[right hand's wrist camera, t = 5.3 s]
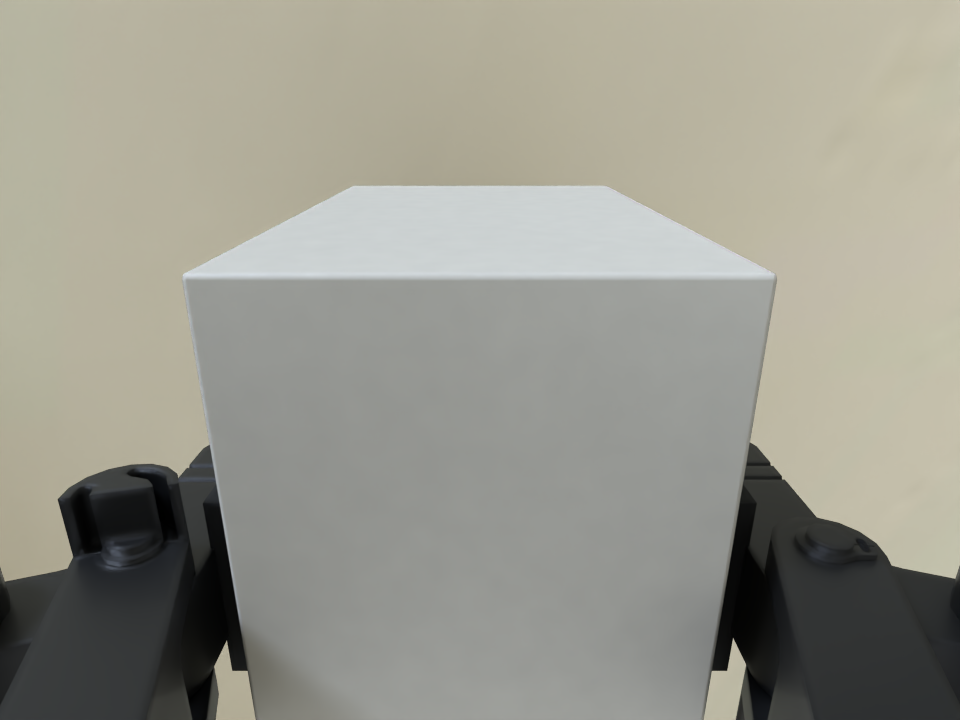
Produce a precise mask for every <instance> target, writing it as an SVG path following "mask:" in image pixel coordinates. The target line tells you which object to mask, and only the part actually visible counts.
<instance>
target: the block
mask: <svg viewBox="0 0 960 720" xmlns="http://www.w3.org/2000/svg"><path fill="white" fill-rule="evenodd" d="M182 281H183V287H184V293H185V299H186V305H187V311H188V317H189V323H190V329H191V335H192V341H193V347H194V353H195V359H196V365H197V371H198V377H199V383H200V389H201V395H202V401H203V407H204V413H205V419H206V425H207V431H208V437H209V443H210V448H211V454H212V460H213V466H214V472H215V478H216V484H217V490H218V496H219V502H220V508H221V514H222V520H223V526H224V532H225V538H226V544H227V550H228V556H229V562H230V568H231V574H232V580H233V586H234V592H235V598H236V604H237V610H238V616H239V622H240V628H241V634H242V640H243V646H244V652H245V658H246V664H247V670H248V675H249V681H250V687H251V693H252V699H253V705H254V711H255V717H256V720H704V714H705V708H706V702H707V696H708V690H709V684H710V678H711V672H712V666H713V660H714V654H715V648H716V642H717V636H718V630H719V624H720V618H721V612H722V606H723V600H724V594H725V588H726V582H727V576H728V570H729V564H730V558H731V552H732V546H733V540H734V534H735V528H736V522H737V516H738V510H739V504H740V498H741V492H742V486H743V480H744V474H745V468H746V462H747V456H748V450H749V444H750V438H751V432H752V426H753V420H754V414H755V408H756V402H757V396H758V390H759V384H760V378H761V372H762V366H763V360H764V354H765V348H766V342H767V336H768V330H769V324H770V318H771V312H772V306H773V300H774V294H775V288H776V282H777V278H776V274H775V273H773V272H771V271H769V270H767V269H765V268H763V267H761V266H759V265H757V264H756V263H754V262H752V261H750V260H748V259H746V258H744V257H742V256H740V255H738V254H736V253H734V252H732V251H731V250H729V249H727V248H725V247H723V246H721V245H719V244H717V243H715V242H713V241H711V240H709V239H708V238H706V237H704V236H702V235H700V234H698V233H696V232H694V231H692V230H690V229H688V228H686V227H684V226H683V225H681V224H679V223H677V222H675V221H673V220H671V219H669V218H667V217H665V216H663V215H661V214H660V213H658V212H656V211H654V210H652V209H650V208H648V207H646V206H644V205H642V204H640V203H638V202H636V201H635V200H633V199H631V198H629V197H627V196H625V195H623V194H621V193H619V192H617V191H615V190H613V189H612V188H610V187H608V186H352V187H350V188H348V189H346V190H344V191H342V192H340V193H338V194H337V195H335V196H333V197H331V198H329V199H327V200H325V201H323V202H321V203H319V204H317V205H315V206H313V207H312V208H310V209H308V210H306V211H304V212H302V213H300V214H298V215H296V216H294V217H292V218H290V219H288V220H286V221H285V222H283V223H281V224H279V225H277V226H275V227H273V228H271V229H269V230H267V231H265V232H263V233H261V234H260V235H258V236H256V237H254V238H252V239H250V240H248V241H246V242H244V243H242V244H240V245H238V246H236V247H235V248H233V249H231V250H229V251H227V252H225V253H223V254H221V255H219V256H217V257H215V258H213V259H211V260H210V261H208V262H206V263H204V264H202V265H200V266H198V267H196V268H194V269H192V270H190V271H188V272H186V273H184V275H183V279H182Z"/></svg>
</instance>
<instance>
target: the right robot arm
mask: <svg viewBox="0 0 960 720" xmlns="http://www.w3.org/2000/svg"><path fill="white" fill-rule="evenodd" d="M58 502H59V506H60V509H61V513H62V517H63V521H64V524H65V528H66V532H67V535H68V539H69V543H70V546H71V550H72V554H73V559H72V561H71V563H70V565H69V567H68V569H65V570H61V571H57V572H52V573H47V574H42V575H37V576H32V577H27V578H22V579H17V580H11V581H6V582H5V581H4V578H3V575H2V572H1V568H0V720H216V712H217V704H218V696H219V693H218V686H217V680H216V674H215V669H214V665H215V663H216V661H217V659H218V657H219V655H220V653H221V651H222V649H223V647H224V645H225V643H226V641H227V643H228V648H229V654H230V660H231V665H232V671H248V670H247V664H246V658H245V652H244V646H243V640H242V634H241V628H240V622H239V616H238V610H237V604H236V598H235V592H234V586H233V580H232V574H231V568H230V562H229V556H228V550H227V544H226V538H225V532H224V526H223V520H222V514H221V508H220V502H219V496H218V490H217V484H216V478H215V472H214V466H213V460H212V454H211V448H210V445H209V446H207V447H205V448H204V449H203V450H202V451H201V452H200V453H199V454H198V456H197V457H196V458H195V459H194V460H193V462H192V463H191V464H190V467H189V468H187V469H186V470H185V471H184V472H183V473H182V475H181V476H180V477H179V478H178V475H177V473H175V472H174V471H173V470H171V469H170V468H168V467H165V466H160V465H155V464H137V465H128V466H123V467H118V468H113V469H108V470H106V471H103V472H100V473H97V474H95V475H92V476H89V477H87V478H85V479H83V480H82V481H80V482H78V483H76V484H75V485H73V486H71V487H70V488H68V489H67V490H66V491H65V493H64V494H63V495H62V496H61V497H60V498H59V499H58ZM733 638H734V640H735V642H736V644H737V647H738V649H739V651H740V653H741V655H742V657H743V659H744V661H745V663H746V669H745V674H744V680H743V685H742V690H741V695H740V700H739V706H738V711H737V716H736V720H960V567H959V570H958V573H957V576H956V579H953V578H948V577H943V576H938V575H933V574H928V573H922V572H917V571H912V570H907V569H902V568H899V567H895V566H891V564H890V562H889V560H888V558H887V556H886V555H885V553H884V552H883V551H882V550H881V549H880V547H879V546H878V545H877V544H876V543H875V542H874V541H872V540H871V539H869V538H868V537H866V536H865V535H863V534H862V533H860V532H859V531H857V530H854V529H852V528H849V527H847V526H845V525H842V524H840V523H837V522H833V521H829V520H825V519H820V518H817V517H816V516H815V515H814V514H813V512H812V511H811V510H810V509H809V508H808V507H807V505H806V504H805V503H804V502H803V501H802V500H801V498H800V497H799V496H798V495H797V494H796V492H795V491H794V490H793V489H792V488H791V487H790V485H789V484H788V483H787V482H786V481H785V480H782V476H781V475H780V474H779V472H778V471H777V470H776V469H775V468H774V466H771V465H770V462H769V461H768V459H767V458H766V457H765V456H764V455H763V453H762V452H761V451H760V450H759V449H758V448H757V446H755V445H753V444H752V443H750V444H749V450H748V456H747V462H746V468H745V474H744V480H743V486H742V492H741V498H740V504H739V510H738V516H737V522H736V528H735V534H734V540H733V546H732V552H731V558H730V564H729V570H728V576H727V582H726V588H725V594H724V600H723V606H722V612H721V618H720V624H719V630H718V636H717V642H716V648H715V654H714V660H713V666H712V671H727V668H728V663H729V657H730V652H731V646H732V640H733Z"/></svg>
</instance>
